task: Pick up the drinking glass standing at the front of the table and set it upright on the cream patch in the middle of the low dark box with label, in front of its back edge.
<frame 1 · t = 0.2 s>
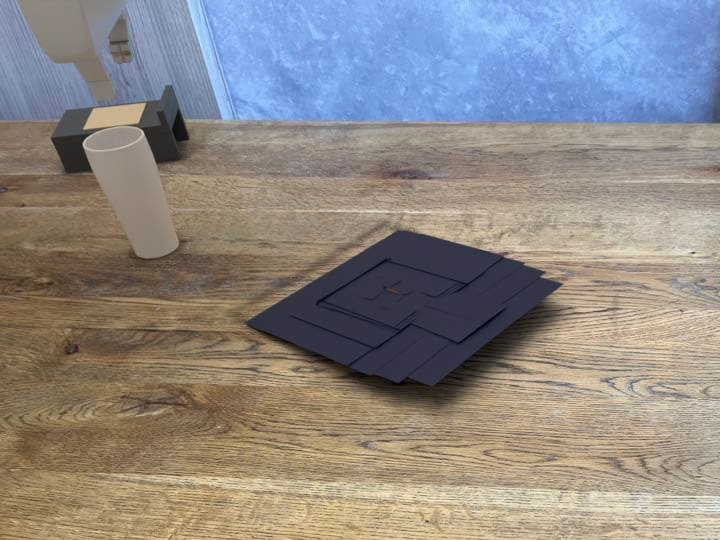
hand: (117, 78, 76), 26 cm above the table, tool pointing down, fingers open, 8 cm apart
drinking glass: (159, 253, 103), on the table
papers: (403, 315, 91), on the table
dark box with label: (131, 156, 124), on the table
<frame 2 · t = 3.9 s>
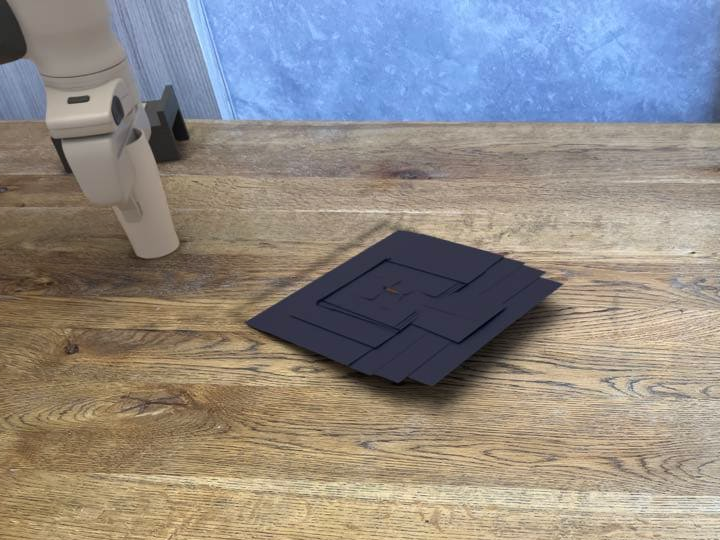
hand: (140, 204, 98), 7 cm above the table, tool pointing down, fingers closed on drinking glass, 6 cm apart
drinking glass: (159, 253, 103), on the table, touching gripper
everything else where it was.
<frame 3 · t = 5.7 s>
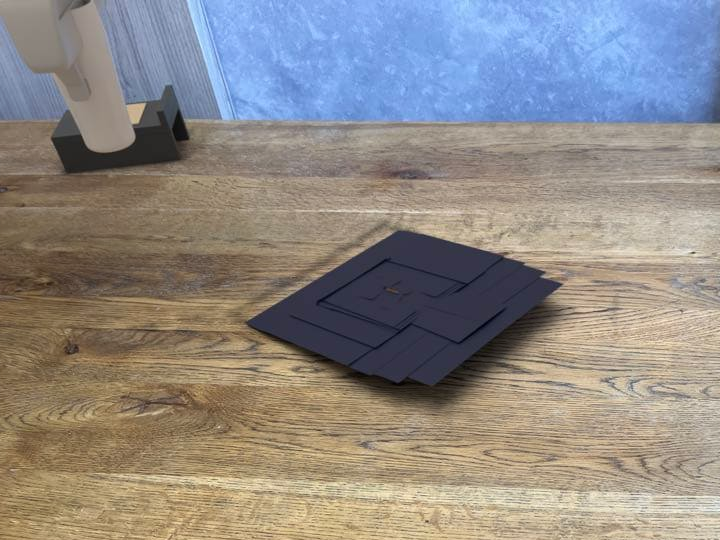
hand: (89, 85, 89), 21 cm above the table, tool pointing down, fingers closed on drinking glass, 6 cm apart
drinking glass: (113, 146, 93), point 14 cm above the table, touching gripper
everything else where it was.
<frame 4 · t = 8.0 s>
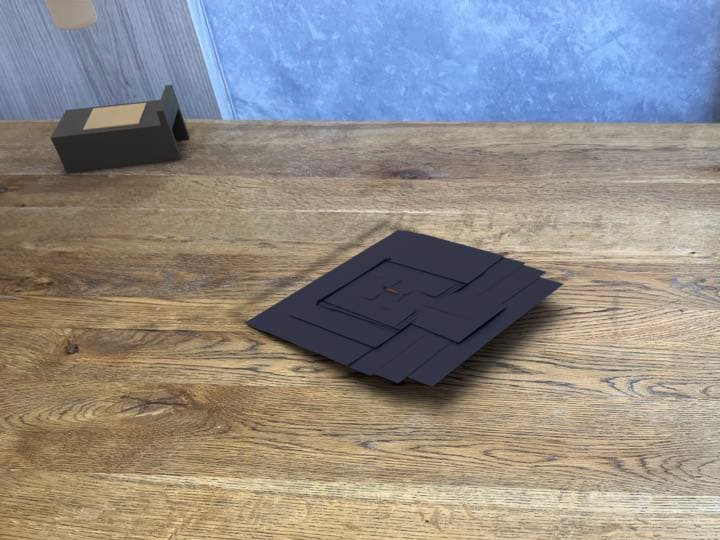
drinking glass: (78, 26, 107), point 20 cm above the table, touching gripper
everything else where it was.
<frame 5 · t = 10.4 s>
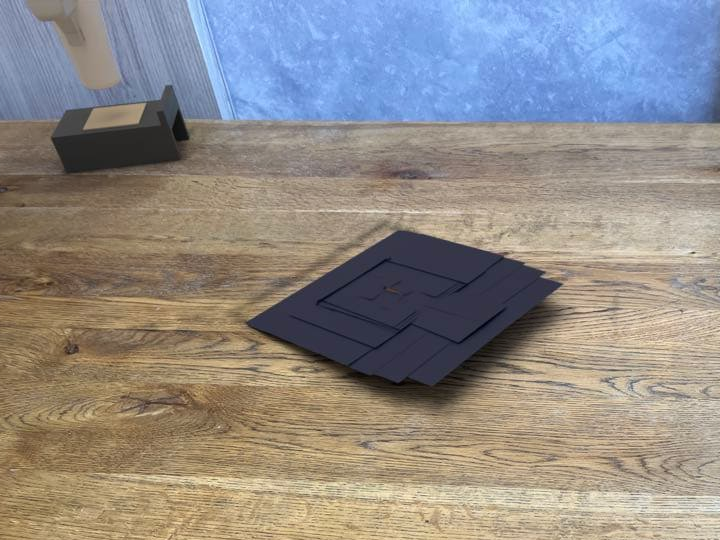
hand: (83, 35, 112), 18 cm above the table, tool pointing down, fingers closed on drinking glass, 6 cm apart
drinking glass: (104, 85, 116), point 11 cm above the table, touching gripper
everything else where it was.
when the fingers open (13 cm above the table, at t = 12.2 s): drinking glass stays where it is, resting on dark box with label.
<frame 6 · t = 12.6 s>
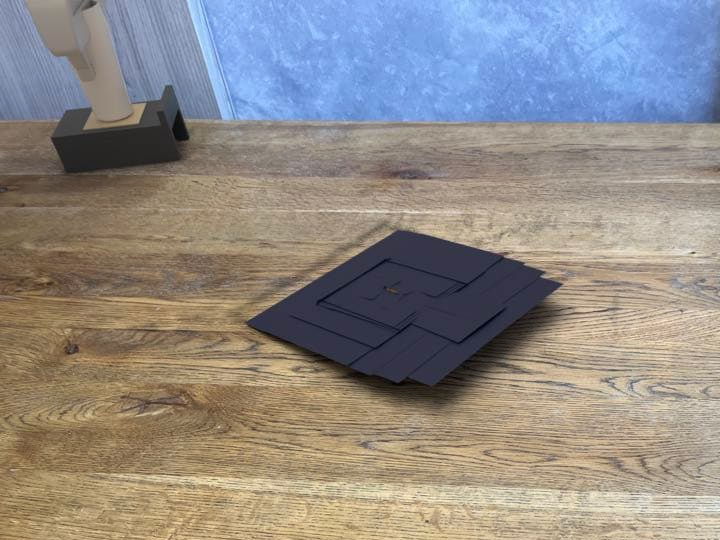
hand: (96, 67, 115), 13 cm above the table, tool pointing down, fingers open, 8 cm apart
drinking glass: (116, 116, 119), point 6 cm above the table, touching dark box with label
everything else where it was.
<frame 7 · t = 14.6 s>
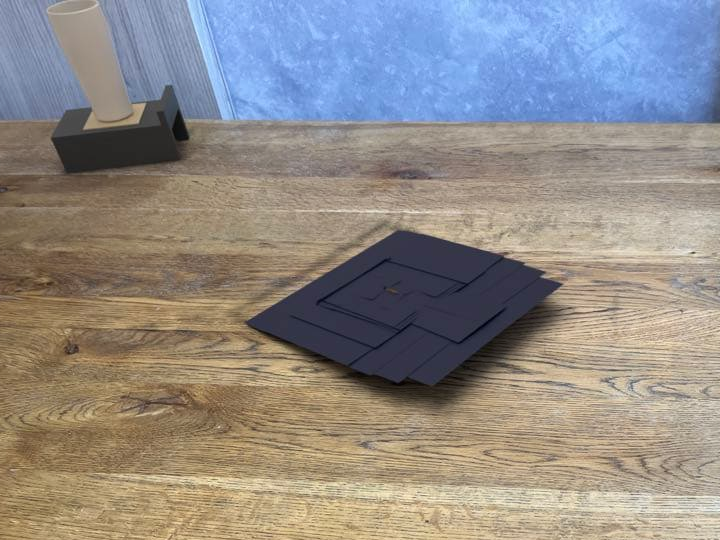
nothing on the table moved.
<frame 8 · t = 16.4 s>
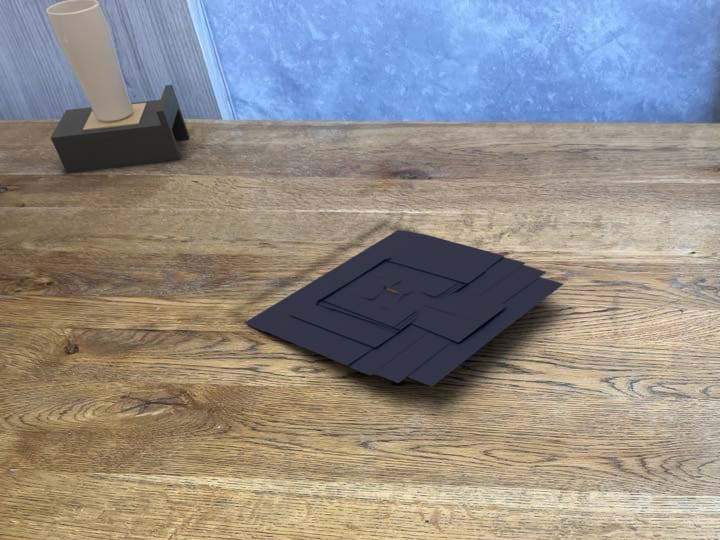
nothing on the table moved.
at the end: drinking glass 0.0 cm off-centre on the dark box with label, point 6.2 cm above the dark box with label's base; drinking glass tilted 0°; the gripper is holding nothing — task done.
